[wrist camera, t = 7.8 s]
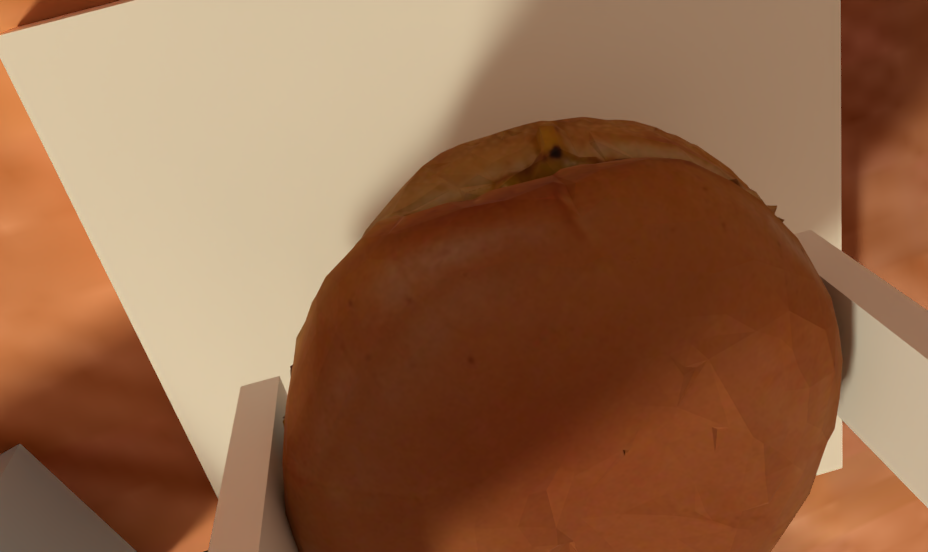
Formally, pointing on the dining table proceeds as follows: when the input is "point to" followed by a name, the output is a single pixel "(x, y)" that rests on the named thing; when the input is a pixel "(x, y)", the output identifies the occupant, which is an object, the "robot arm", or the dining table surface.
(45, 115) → the board
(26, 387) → the dining table surface
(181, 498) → the dining table surface
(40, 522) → the slate block
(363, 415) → the burger
